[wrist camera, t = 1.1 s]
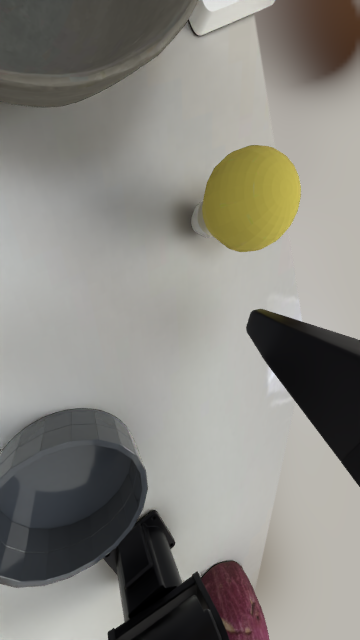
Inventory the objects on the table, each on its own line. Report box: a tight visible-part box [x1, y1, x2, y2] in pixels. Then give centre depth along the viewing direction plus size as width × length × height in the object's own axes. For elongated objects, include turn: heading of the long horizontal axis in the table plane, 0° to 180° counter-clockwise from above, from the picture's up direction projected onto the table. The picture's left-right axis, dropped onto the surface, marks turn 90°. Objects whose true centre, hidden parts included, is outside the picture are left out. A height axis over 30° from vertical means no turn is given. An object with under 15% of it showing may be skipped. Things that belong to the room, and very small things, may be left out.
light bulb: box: [191, 145, 301, 252], centre depth 18 cm, size 7×7×10 cm
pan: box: [0, 408, 148, 588], centre depth 19 cm, size 12×12×4 cm
